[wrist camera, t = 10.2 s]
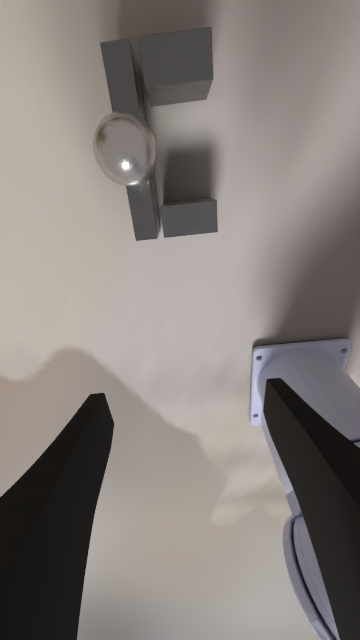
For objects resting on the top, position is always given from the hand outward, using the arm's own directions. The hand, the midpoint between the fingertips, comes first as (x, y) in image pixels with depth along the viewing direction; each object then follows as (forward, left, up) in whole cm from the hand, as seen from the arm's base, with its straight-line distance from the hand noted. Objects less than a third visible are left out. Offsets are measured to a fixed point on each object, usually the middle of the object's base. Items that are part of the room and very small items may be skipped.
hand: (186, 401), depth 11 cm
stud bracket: (+10, 0, -10) cm, 14 cm away
